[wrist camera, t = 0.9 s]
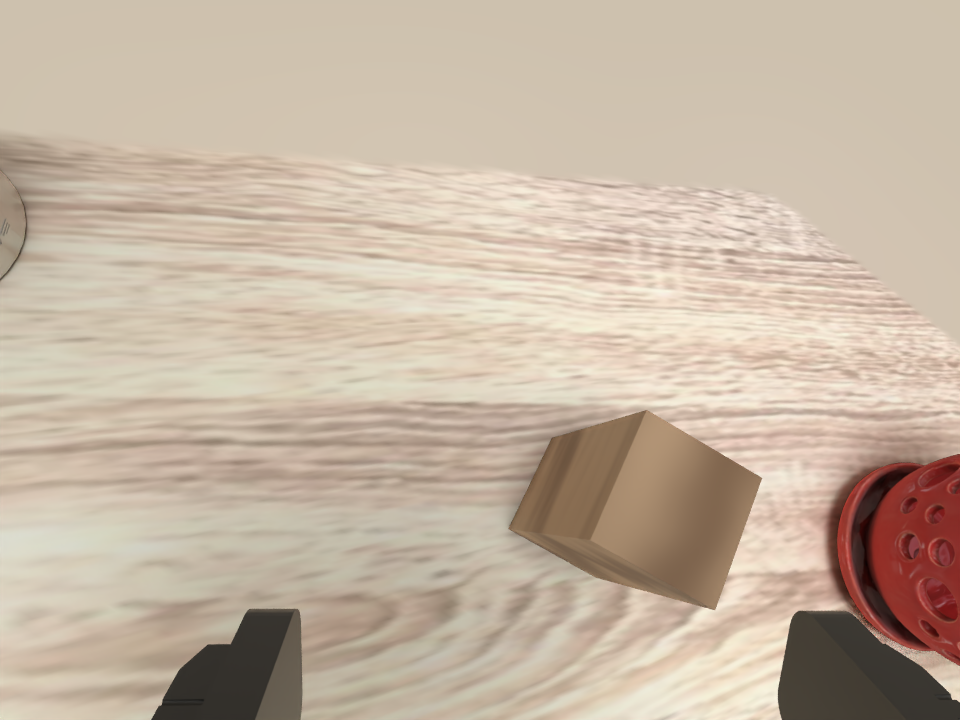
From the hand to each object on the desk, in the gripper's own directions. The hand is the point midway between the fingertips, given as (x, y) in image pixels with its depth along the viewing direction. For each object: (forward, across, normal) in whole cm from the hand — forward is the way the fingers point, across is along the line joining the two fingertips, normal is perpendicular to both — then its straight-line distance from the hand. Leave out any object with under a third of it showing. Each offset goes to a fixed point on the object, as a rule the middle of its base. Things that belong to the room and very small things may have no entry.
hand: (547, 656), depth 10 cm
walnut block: (+25, -7, +10) cm, 28 cm away
